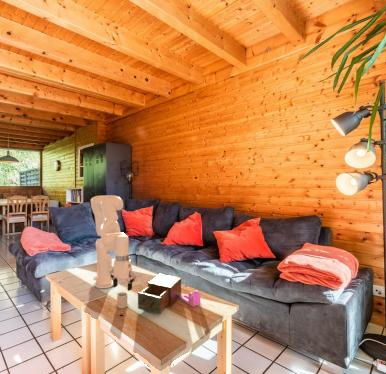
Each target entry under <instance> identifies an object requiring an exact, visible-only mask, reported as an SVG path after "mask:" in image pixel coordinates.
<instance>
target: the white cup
mask: <svg viewBox="0 0 386 374" xmlns="http://www.w3.org/2000/svg"><path fill="white" fill-rule="evenodd" d="M116 307H117V308H118V309H126V308H127V307H128V293H127V292H126V291H125V292H124V291H121V292H118V293H117V294H116Z"/></svg>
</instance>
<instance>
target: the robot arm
mask: <svg viewBox="0 0 386 374" xmlns="http://www.w3.org/2000/svg"><path fill="white" fill-rule="evenodd" d="M90 207H91V210H92V213H93V215H94V222H95V231H96V234H97V236H98V237H100V238H98V239H96V241H95V243H94V244H95V251H96V252H95V253H96V270H97V271H96V275H94V277H92V278H93V279H92V280H93V281H95V282H94V286H95V288H98V289H109V288H111V287H113V288H116V287H118V285H119V284H118V279H120V280H125V281H126V282H127V291H128V292H130V291H131V290H132V289H133V282H134V281H135V280H136V277H137V275H136V274H135V273H133V267H132V262H131V256H130V238H129V235H126V233H124V232H121V227H120V224H119V222H118V220H119V215H118V212H117V211H122V210H123V209H124V201H123V199H122V198H121V197H120V196H117V195H114V194H111V195H95V196H93V197H91V200H90ZM110 252H111V253H112V252H115V253H114V255H115V256H114V262H112V261H113V260H112V256H111V255H110V254H109V253H110ZM112 263H113V265H112ZM112 266H113V268H112Z"/></svg>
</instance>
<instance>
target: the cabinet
mask: <svg viewBox="0 0 386 374" xmlns="http://www.w3.org/2000/svg"><path fill="white" fill-rule="evenodd" d="M149 285H155V286H159V287H164V288H168V289H170V303H169V304H168V305H167V306H168V307H172V306H173V305H174V304H175V303H176V302H177V301H178V299H180V295H181V294H182V277H179V276H173V275H167V274H163V273H159V274H158V275H156V276H155V277H154V278H152V279H151V280H150V281H148V282H147V287H148V286H149Z"/></svg>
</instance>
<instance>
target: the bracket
mask: <svg viewBox="0 0 386 374" xmlns="http://www.w3.org/2000/svg"><path fill="white" fill-rule="evenodd" d="M179 299H180V300H181V301H182V302H184V303H186V304H187V305H190V306H191V307H196V306H199V305H201V292H200V291H199V290H195V291H194V292H189V293H188V294H187V293H181V295H180V297H179Z"/></svg>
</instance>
